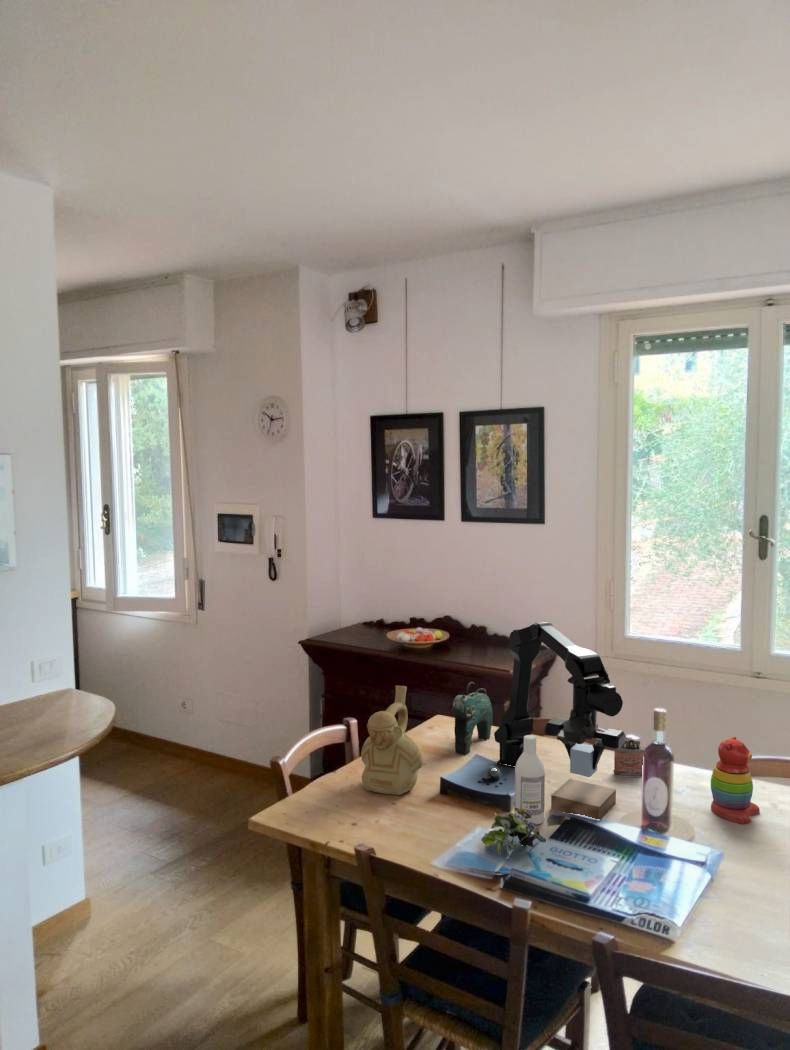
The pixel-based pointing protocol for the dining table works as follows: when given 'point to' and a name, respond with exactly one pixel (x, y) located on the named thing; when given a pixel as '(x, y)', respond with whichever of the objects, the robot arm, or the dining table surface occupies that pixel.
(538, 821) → the bath foam
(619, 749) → the lighter
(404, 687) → the ceramic vessel
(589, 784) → the walnut slab
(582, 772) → the slate block
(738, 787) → the stacking bear
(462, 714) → the green elephant figurine
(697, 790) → the dining table surface
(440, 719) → the dining table surface
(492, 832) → the green leafy plant
